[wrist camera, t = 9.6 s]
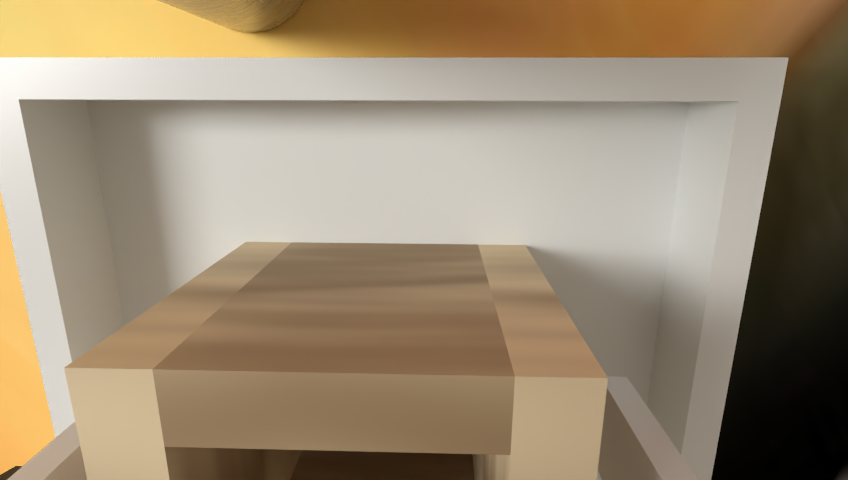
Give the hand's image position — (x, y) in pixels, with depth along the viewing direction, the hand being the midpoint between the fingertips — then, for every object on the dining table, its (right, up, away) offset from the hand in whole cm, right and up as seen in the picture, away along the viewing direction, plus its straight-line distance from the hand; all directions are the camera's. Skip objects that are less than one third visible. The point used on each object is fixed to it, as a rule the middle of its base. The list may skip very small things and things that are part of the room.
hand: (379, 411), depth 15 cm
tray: (0, +1, +3) cm, 3 cm away
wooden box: (0, +1, +2) cm, 2 cm away
